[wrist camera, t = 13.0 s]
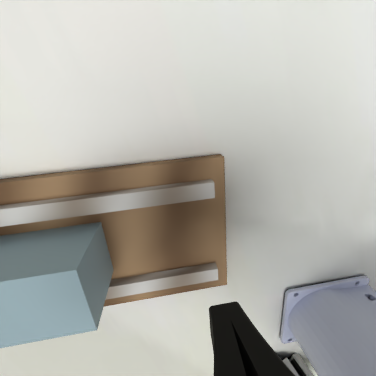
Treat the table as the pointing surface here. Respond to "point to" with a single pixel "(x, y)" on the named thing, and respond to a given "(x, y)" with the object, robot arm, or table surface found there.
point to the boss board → (135, 220)
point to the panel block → (52, 283)
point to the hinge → (297, 366)
